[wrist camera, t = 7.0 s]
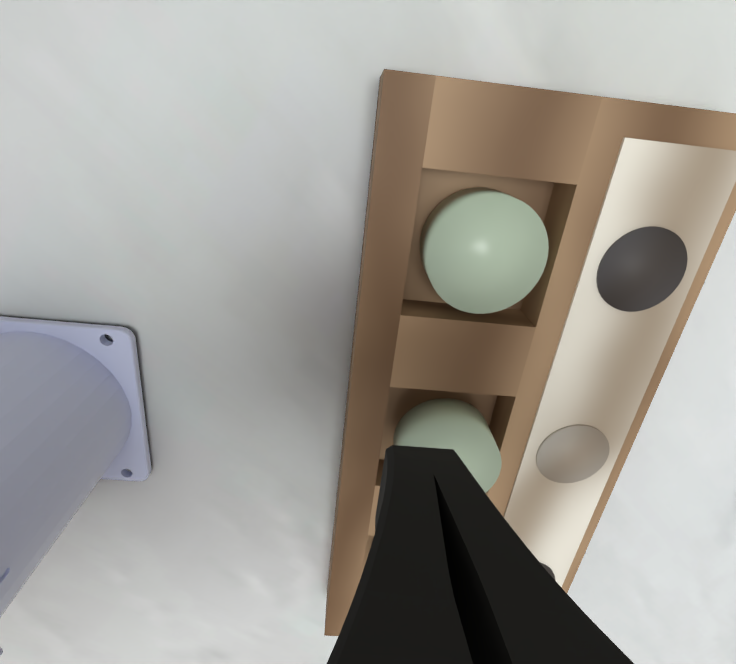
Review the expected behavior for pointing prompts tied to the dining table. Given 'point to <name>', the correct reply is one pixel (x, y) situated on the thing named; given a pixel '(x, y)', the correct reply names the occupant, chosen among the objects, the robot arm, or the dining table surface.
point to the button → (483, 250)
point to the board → (528, 295)
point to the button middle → (453, 435)
